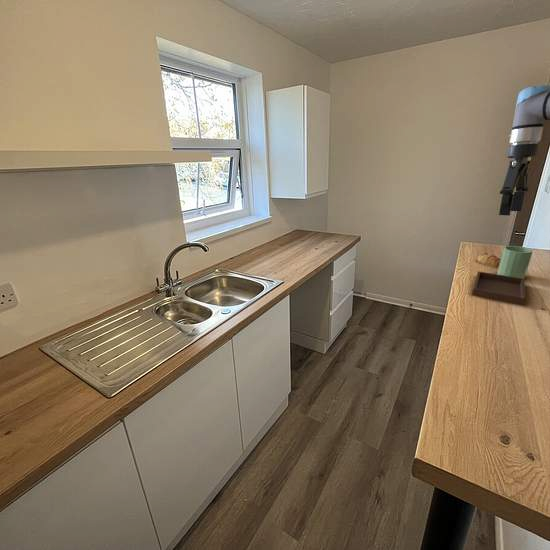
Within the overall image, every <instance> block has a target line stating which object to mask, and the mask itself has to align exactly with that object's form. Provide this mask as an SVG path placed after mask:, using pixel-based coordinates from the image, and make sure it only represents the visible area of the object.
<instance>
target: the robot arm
mask: <svg viewBox="0 0 550 550" xmlns="http://www.w3.org/2000/svg"><path fill="white" fill-rule="evenodd" d="M514 108H515V110H514V116H513V121H512V122H513V123H512V127H511V133H510V134H508V138H509V146H508V147H507V152H506V158H507V159H513V160H510V161H509V163H508V168H507V171H506V175H505V177H504V181H503V184H502V186H501V190H499V195H502V197H501V201H500V207H499V212H498V216H507V217H508V216H511V212H522V208H523V203H524V198H525V193H526V192H529V187H528V186H529V173H530V166H531V160H529V158H535V157H537V156H538V152H539V148H540V144H539V142H541V139H542V135H543V130H544V125H545V121H550V84H539V85H533V86H528V87H525V88H523V89H522V90H521V91H520V92H519V93H518V95H517V100H516V104H515V106H514Z"/></svg>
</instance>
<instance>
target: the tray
mask: <svg viewBox="0 0 550 550" xmlns="http://www.w3.org/2000/svg"><path fill="white" fill-rule="evenodd" d="M525 282H526V281H525V278H524V279H523V278H516V277H510V276H504V275H498V274H497V273H491V272H487V271H485V272H484V271H477V273H476V277H475V280H474V285H473V288H472V293H471V296H474V297H479V298H483V299H489V300H494V301H499V302H504V303H509V304H513V305H517V306H518V305H519V306H524V305H525V302H526V299H527V298H526V283H525Z"/></svg>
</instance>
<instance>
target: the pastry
mask: <svg viewBox="0 0 550 550" xmlns="http://www.w3.org/2000/svg"><path fill="white" fill-rule="evenodd" d="M476 260H477V262H478V263H481V264H483V265H486V266H490V267H495V268H499V264H500V260H501V257H498V256H497V255H495V254H492V253H491V254H490V253H487V252H483V253H481V254H480V255H478V257H477V258H476Z"/></svg>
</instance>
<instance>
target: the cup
mask: <svg viewBox="0 0 550 550" xmlns="http://www.w3.org/2000/svg"><path fill="white" fill-rule="evenodd" d="M533 252H534V251H533V249H531V248H529V247H525V246H521V245H505V246H503V250H502V253H501V256H500V259H501V260H500V264H499V267H497V271H496V274H498V275H504V276H510V277H516V278H523V279H524V280H525V278H526V275H527V271H528V268H529V265H530V262H531V258H532V255H533Z"/></svg>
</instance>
